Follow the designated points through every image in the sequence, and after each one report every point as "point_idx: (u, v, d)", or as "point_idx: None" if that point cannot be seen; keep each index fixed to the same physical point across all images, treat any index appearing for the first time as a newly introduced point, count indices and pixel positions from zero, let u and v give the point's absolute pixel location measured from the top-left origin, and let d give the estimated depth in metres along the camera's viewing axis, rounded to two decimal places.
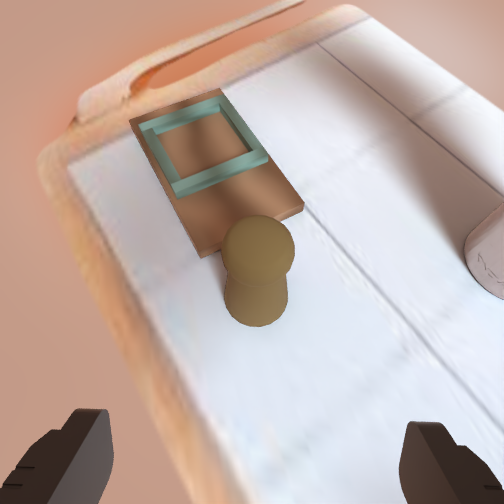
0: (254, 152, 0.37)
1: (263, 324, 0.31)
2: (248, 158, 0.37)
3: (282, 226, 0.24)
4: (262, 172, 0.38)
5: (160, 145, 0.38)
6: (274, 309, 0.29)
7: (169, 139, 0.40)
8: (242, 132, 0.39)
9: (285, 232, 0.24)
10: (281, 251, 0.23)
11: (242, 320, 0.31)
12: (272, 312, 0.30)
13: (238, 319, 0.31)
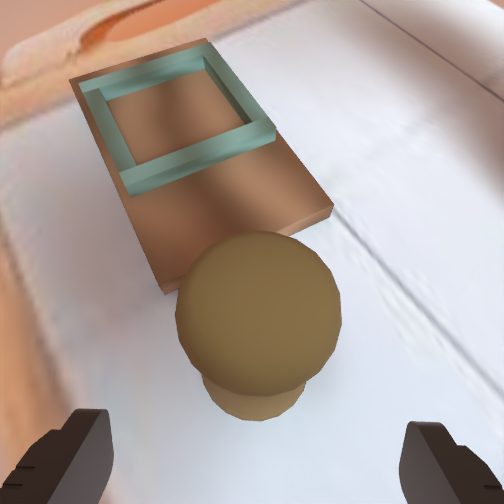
0: (254, 125, 0.24)
1: (267, 418, 0.18)
2: (245, 133, 0.24)
3: (315, 258, 0.10)
4: (266, 156, 0.24)
5: (108, 113, 0.24)
6: (287, 400, 0.16)
7: (126, 107, 0.26)
8: (236, 95, 0.25)
9: (322, 273, 0.10)
10: (316, 322, 0.09)
11: (230, 412, 0.17)
12: (284, 404, 0.16)
13: (223, 408, 0.18)
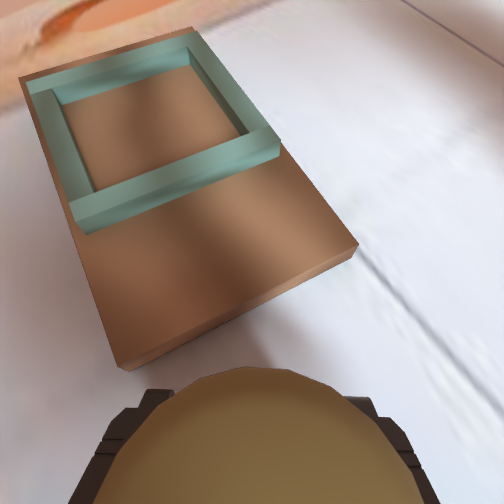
0: (252, 136, 0.18)
1: None
2: (239, 148, 0.18)
3: (384, 463, 0.05)
4: (268, 177, 0.18)
5: (61, 121, 0.19)
6: None
7: (88, 112, 0.21)
8: (229, 98, 0.20)
9: None
10: None
11: None
12: None
13: None
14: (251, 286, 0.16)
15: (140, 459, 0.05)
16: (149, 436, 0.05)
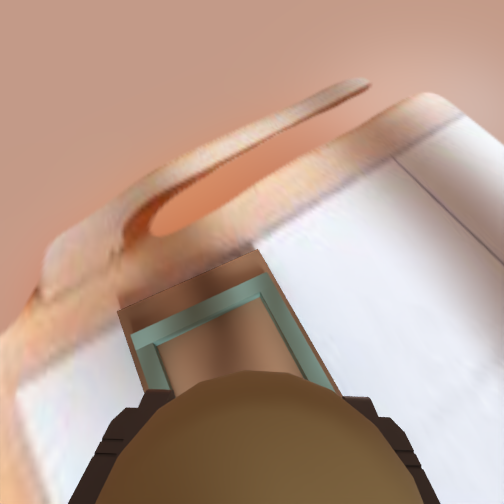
0: None
1: None
2: None
3: (385, 467, 0.05)
4: None
5: (165, 384, 0.23)
6: None
7: (180, 355, 0.25)
8: (300, 358, 0.24)
9: None
10: None
11: None
12: None
13: None
14: None
15: (140, 464, 0.05)
16: (149, 440, 0.05)
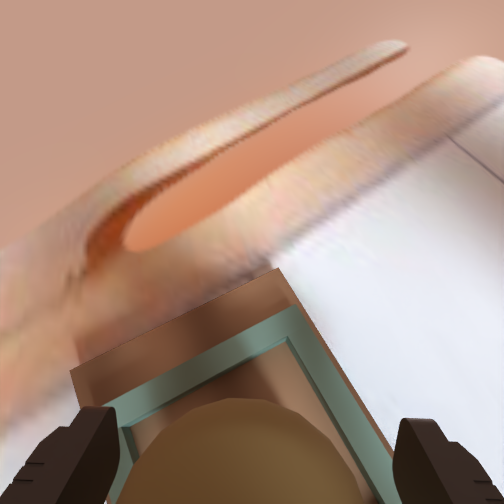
0: None
1: None
2: None
3: (331, 476, 0.06)
4: None
5: None
6: None
7: None
8: (358, 447, 0.15)
9: None
10: None
11: None
12: None
13: None
14: None
15: (148, 476, 0.06)
16: (154, 458, 0.07)
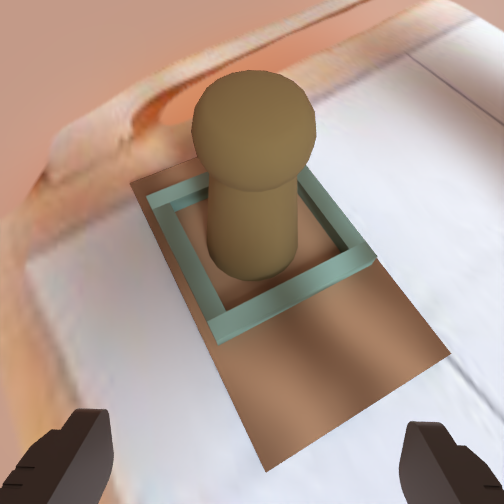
0: (352, 253, 0.21)
1: (263, 277, 0.21)
2: (343, 265, 0.21)
3: (295, 84, 0.14)
4: (364, 287, 0.21)
5: (185, 238, 0.21)
6: (279, 249, 0.20)
7: (198, 220, 0.24)
8: (325, 212, 0.22)
9: (301, 92, 0.14)
10: (295, 116, 0.13)
11: (232, 271, 0.21)
12: (276, 255, 0.20)
13: (226, 269, 0.21)
14: (365, 395, 0.19)
15: (213, 84, 0.14)
16: (215, 82, 0.14)
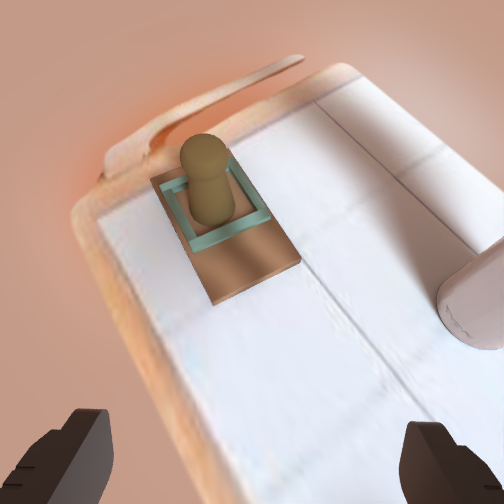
0: (259, 212, 0.44)
1: (216, 224, 0.44)
2: (254, 218, 0.43)
3: (219, 140, 0.37)
4: (265, 229, 0.44)
5: (178, 205, 0.44)
6: (221, 209, 0.42)
7: (185, 197, 0.46)
8: (248, 193, 0.45)
9: (220, 143, 0.36)
10: (217, 153, 0.36)
11: (201, 220, 0.44)
12: (221, 212, 0.43)
13: (198, 220, 0.44)
14: (259, 273, 0.41)
15: (188, 139, 0.37)
16: None
